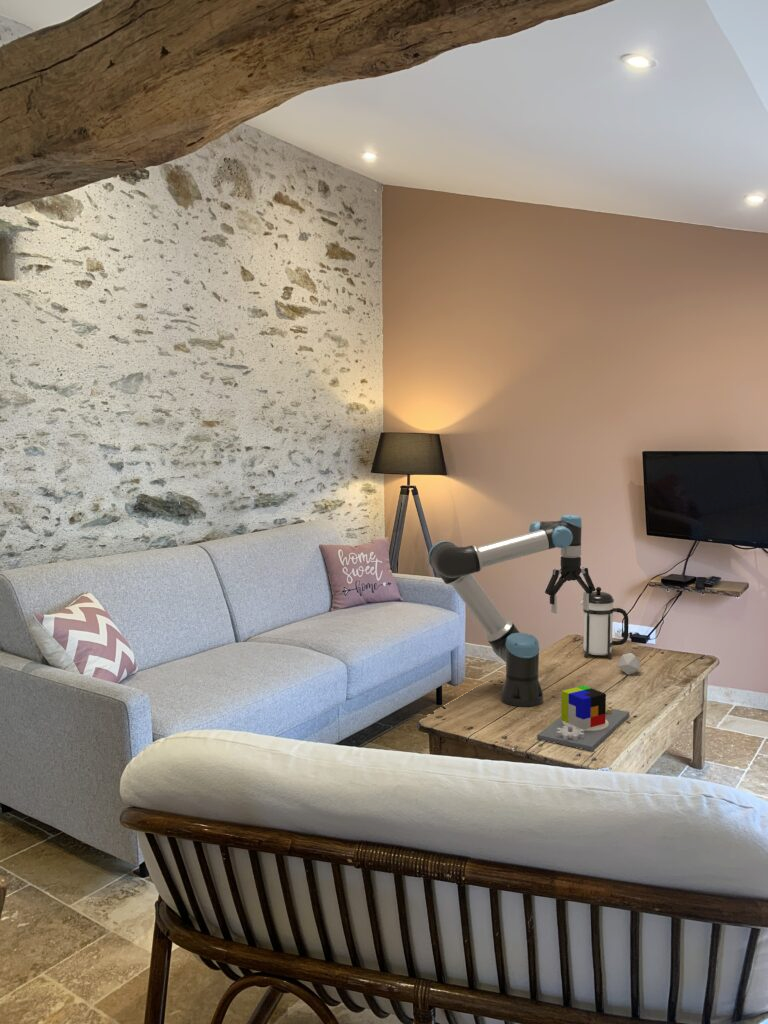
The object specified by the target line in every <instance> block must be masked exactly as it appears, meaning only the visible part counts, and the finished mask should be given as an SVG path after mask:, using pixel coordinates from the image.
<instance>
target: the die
mask: <svg viewBox="0 0 768 1024" xmlns="http://www.w3.org/2000/svg"><path fill="white" fill-rule="evenodd" d="M641 664H642V661H641V660H640V659H639V658H638V657H637V655H635V654H633V653H632V652H628V653H624V654H622V655H621V657H620V658H619V661H618V665H617V667H618V668H619V669H620V670H621V671H623V672H624V673H625V674H626V675H627V676H630V675H634V674H638V671H639V670H640V667H641Z"/></svg>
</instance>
